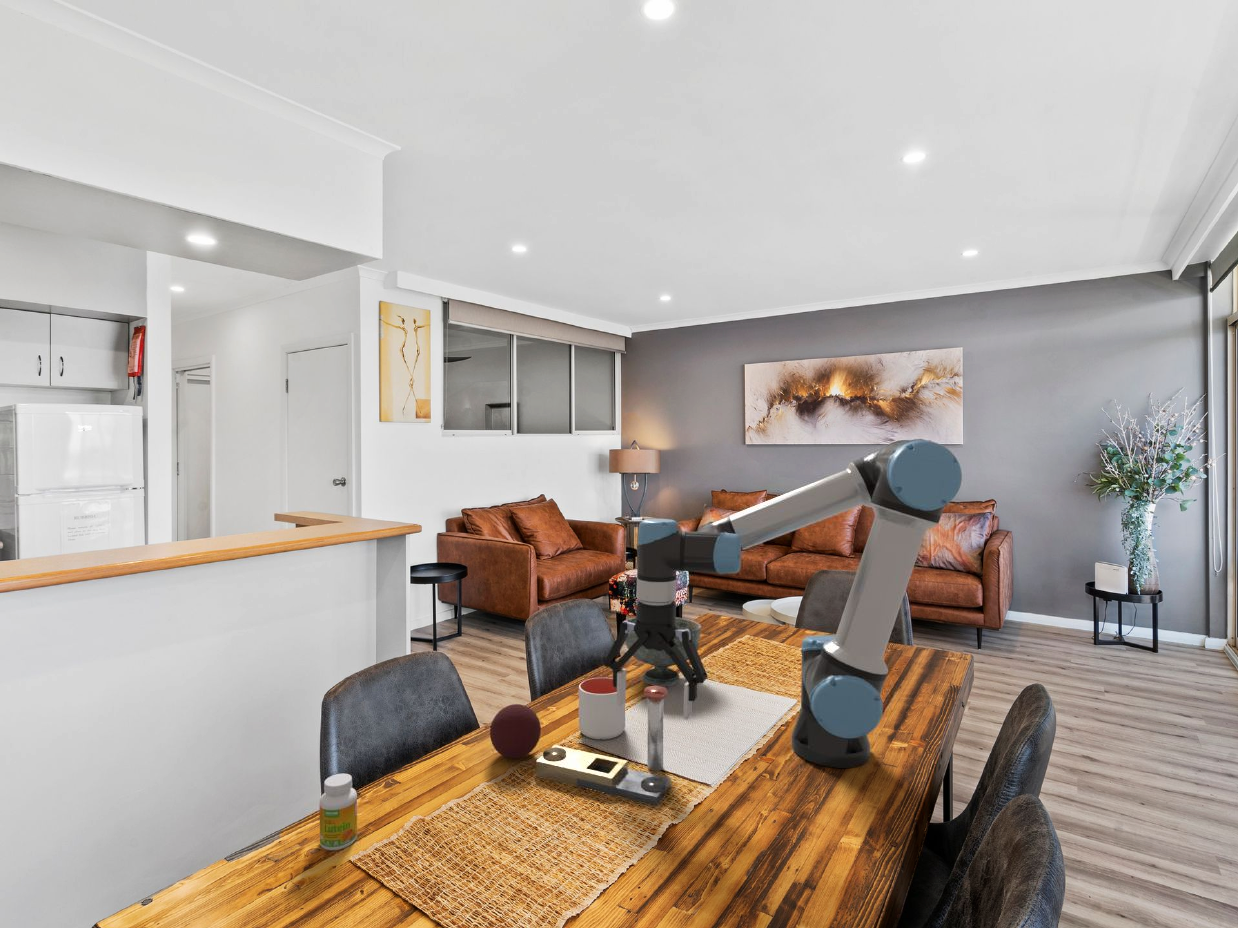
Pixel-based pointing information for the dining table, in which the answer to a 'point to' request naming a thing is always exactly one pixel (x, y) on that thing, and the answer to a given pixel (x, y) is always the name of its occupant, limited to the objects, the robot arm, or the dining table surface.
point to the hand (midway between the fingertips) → (653, 710)
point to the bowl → (663, 655)
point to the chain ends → (600, 774)
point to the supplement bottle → (338, 813)
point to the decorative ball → (515, 731)
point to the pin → (655, 726)
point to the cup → (600, 709)
